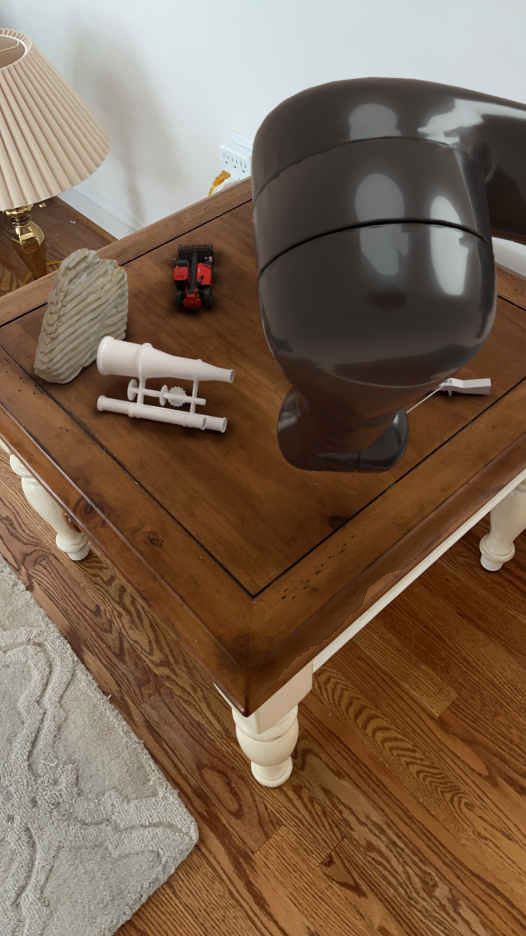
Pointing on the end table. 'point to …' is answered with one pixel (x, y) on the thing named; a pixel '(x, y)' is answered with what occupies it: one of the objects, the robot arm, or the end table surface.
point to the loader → (193, 275)
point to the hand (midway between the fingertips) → (346, 196)
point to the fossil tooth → (81, 314)
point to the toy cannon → (155, 365)
